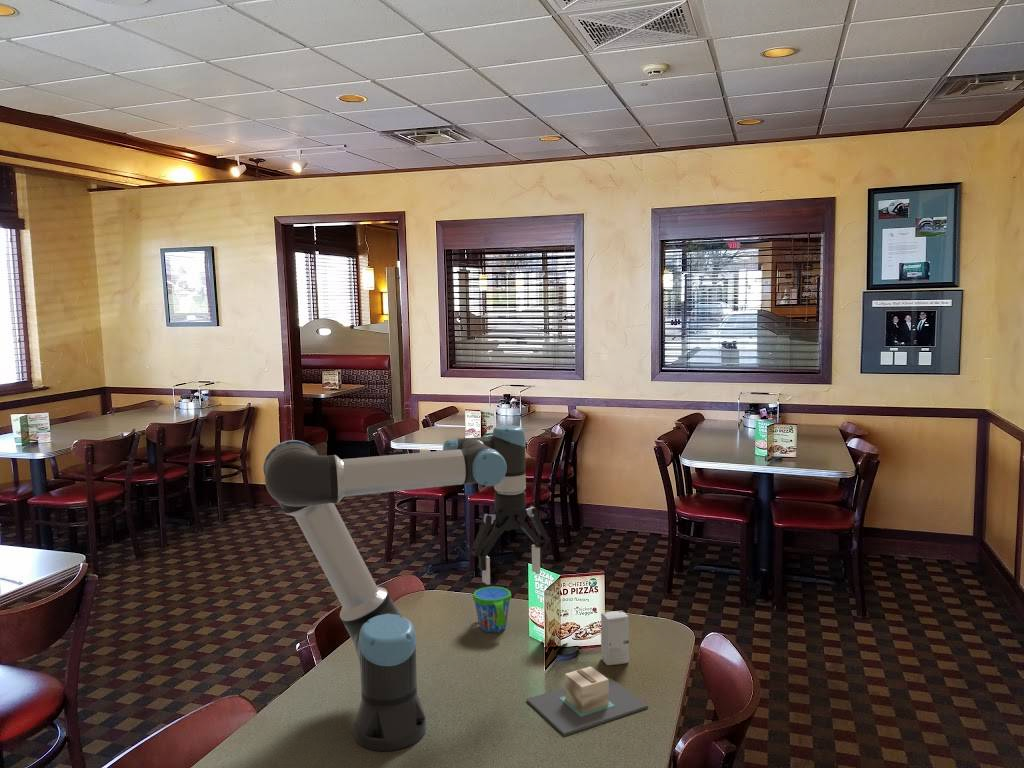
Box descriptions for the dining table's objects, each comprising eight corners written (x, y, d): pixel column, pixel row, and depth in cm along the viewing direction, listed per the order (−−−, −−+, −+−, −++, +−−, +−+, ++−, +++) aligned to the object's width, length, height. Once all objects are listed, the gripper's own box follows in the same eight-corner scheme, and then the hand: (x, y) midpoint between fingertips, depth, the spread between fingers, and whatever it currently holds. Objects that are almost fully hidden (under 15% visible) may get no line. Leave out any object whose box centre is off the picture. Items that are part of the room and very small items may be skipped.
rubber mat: (564, 736, 156) (564, 732, 156) (526, 701, 170) (526, 698, 170) (647, 707, 167) (647, 705, 167) (606, 677, 181) (606, 674, 181)
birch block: (608, 704, 167) (608, 678, 166) (582, 713, 164) (582, 686, 163) (590, 691, 173) (590, 665, 172) (565, 699, 170) (564, 673, 169)
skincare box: (607, 666, 186) (607, 619, 185) (600, 658, 191) (600, 612, 189) (629, 662, 188) (629, 616, 187) (622, 654, 192) (622, 609, 191)
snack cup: (469, 618, 216) (468, 584, 215) (505, 614, 219) (504, 581, 217) (479, 642, 201) (478, 605, 200) (517, 637, 203) (516, 601, 202)
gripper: (547, 481, 187) (548, 563, 189) (455, 494, 175) (457, 582, 177) (563, 487, 180) (563, 572, 182) (469, 501, 168) (471, 592, 171)
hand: (511, 577), depth 180 cm, fingers open, 13 cm apart
